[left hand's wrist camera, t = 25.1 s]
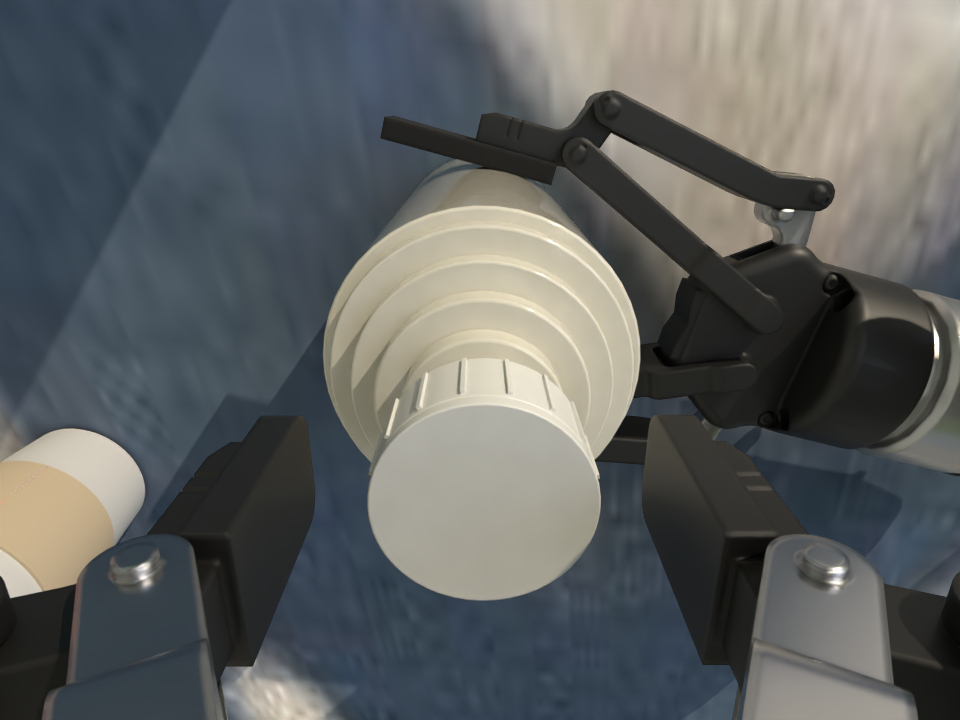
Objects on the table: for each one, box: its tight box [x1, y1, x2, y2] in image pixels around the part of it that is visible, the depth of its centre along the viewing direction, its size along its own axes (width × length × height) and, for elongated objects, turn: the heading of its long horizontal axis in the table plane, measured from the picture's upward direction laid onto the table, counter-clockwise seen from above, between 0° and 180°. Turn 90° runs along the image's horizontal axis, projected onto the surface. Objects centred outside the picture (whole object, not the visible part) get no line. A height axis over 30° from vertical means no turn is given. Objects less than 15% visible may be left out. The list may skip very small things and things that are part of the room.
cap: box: [367, 358, 601, 601], centre depth 11 cm, size 4×4×2 cm
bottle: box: [323, 159, 640, 462], centre depth 21 cm, size 8×8×22 cm
